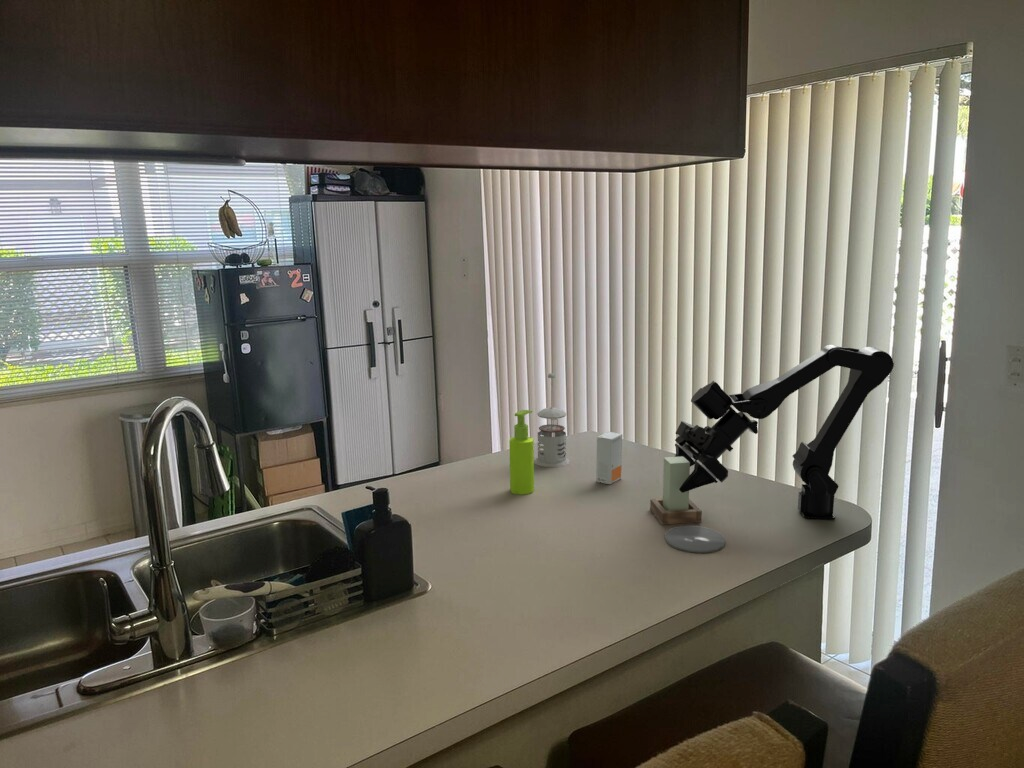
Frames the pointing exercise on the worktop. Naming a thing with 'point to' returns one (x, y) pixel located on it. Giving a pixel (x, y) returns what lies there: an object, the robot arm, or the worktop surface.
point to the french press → (552, 438)
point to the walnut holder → (675, 513)
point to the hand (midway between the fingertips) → (673, 483)
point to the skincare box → (609, 457)
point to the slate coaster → (694, 539)
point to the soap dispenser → (521, 458)
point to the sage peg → (675, 483)
